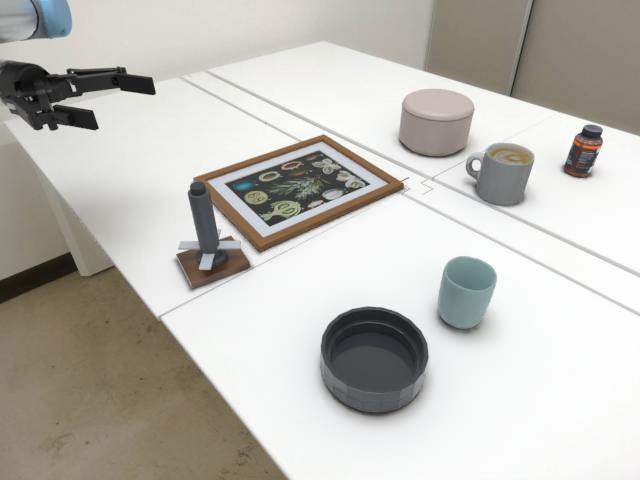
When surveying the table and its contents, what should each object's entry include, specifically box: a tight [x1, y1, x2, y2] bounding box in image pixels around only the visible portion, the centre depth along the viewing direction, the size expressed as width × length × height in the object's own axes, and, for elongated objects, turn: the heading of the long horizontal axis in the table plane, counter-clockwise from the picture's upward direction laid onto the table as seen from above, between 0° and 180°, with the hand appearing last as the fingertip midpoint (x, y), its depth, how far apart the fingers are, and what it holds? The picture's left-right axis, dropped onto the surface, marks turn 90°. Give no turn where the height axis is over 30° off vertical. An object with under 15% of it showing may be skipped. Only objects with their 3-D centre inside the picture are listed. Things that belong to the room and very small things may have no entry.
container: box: [398, 88, 476, 157], centre depth 118 cm, size 18×18×12 cm
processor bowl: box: [320, 305, 430, 414], centre depth 65 cm, size 15×15×6 cm
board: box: [175, 235, 251, 290], centre depth 85 cm, size 11×9×2 cm
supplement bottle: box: [563, 123, 604, 178], centre depth 106 cm, size 6×6×11 cm
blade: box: [177, 181, 242, 270], centre depth 79 cm, size 11×11×16 cm
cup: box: [437, 255, 498, 330], centre depth 71 cm, size 8×8×10 cm
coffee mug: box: [465, 142, 536, 206], centre depth 101 cm, size 13×10×10 cm
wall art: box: [192, 133, 405, 253], centre depth 105 cm, size 31×2×38 cm
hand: (125, 102), depth 69 cm, fingers open, 13 cm apart
